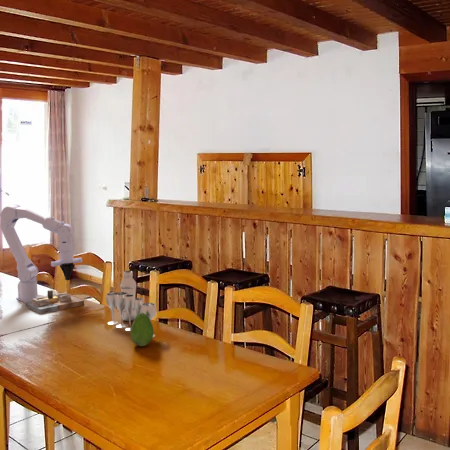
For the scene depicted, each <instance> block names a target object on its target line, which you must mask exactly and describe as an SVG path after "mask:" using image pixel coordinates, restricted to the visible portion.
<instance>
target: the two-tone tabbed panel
mask: <svg viewBox="0 0 450 450" xmlns="http://www.w3.org/2000/svg"><path fill="white" fill-rule="evenodd" d="M55 296H56V297H58V301H57V302H52V303H49V299H48V297H45V296H38V297H39V298H34V299H32V301H29V302H24V305H25V308H27V309H29V310H31V311H34V312H35V313H38V314H40V315H43V314H46V313H52V312H55V311H56V312H57V311H61V310H66V309H67V310H68V309H72V308H77V307H80V306H84V305H85V300H83V299H81V298H78V297H77V296H74V295H72V293H67V292H61V293H56V294H55ZM44 298H47V299H44ZM39 299H42V300H39Z"/></svg>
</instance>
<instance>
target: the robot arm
mask: <svg viewBox="0 0 450 450" xmlns="http://www.w3.org/2000/svg"><path fill="white" fill-rule="evenodd" d="M19 219H27V220H29V221H32V222H36V223H38V224H40V225H42V228H43V229H45V230H47V231H49V232H52V233H54V234H57V237H59V257H60V259H57V260H55V261H54V260H53V261H50V266H51V267H52V268H53V267H57V266H58V267H59V268H60V269H61V271H62V274H63V276H64V280H65V281H70V280H71V275H72V273H73V270H74V268H75V265H76V264H78V263H80V264H81V263H83V257H75V258H74V245H73V233H74V226H72V224H70V223H67V222H66V223H65V221H63V220H62V221H60V220H58V219H56V218H55V217H54V216H47V217H44V216H42V215H41V214H39V213H36V212H34V211H32V210H31V209H28V208H26V207H25V206H21V205H19V204H13V205H8V206H6V207H3V209H2V210H1V212H0V230H1V233H2V235H3V237H4V238H5V241H6V243H7V245H8V248H9V249H10V252H11V253H12V255H13V258H14V259H15V262H16V271H17V278H18V280H19V282H18V284H17V295H18V296H17V297H16V299H17V300H18V301H21V302H23V303H25V302H29V301H32V299H34V298H39V297H40V296H38V279H37V276H38V274H39V268H38V267H37V266H36V264H34V263H33V261H32V260H31V259H30V258H29V257H28V255H27V253H26V251H25V248H24V246H23V244H22V242H21V240H20V238H19V235H18V233H17V231H16V229H15V226H16V224H17V222H18V221H19Z"/></svg>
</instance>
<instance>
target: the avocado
mask: <svg viewBox="0 0 450 450" xmlns="http://www.w3.org/2000/svg"><path fill="white" fill-rule="evenodd" d="M153 334H154V326H153V324H152V320H151V321H150V319H149V317H148V316H147V315H146V314H145V313H139V314H137V316H136V317H135V319H134V320H133V321H132V325H131V331H130V339H131V341H132V342H133V344H134V345H136V346H139V347H145V346H147V345H148V344H150V342H152V340H153V338H154V337H153Z"/></svg>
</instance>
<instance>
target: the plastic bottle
mask: <svg viewBox="0 0 450 450" xmlns="http://www.w3.org/2000/svg"><path fill="white" fill-rule="evenodd" d="M122 276H123V278H122V280H121V282H120V285H119V286H120V292H126V293H127V295H134V301H135V299H136V292H137V282H136V280H135V279H134V278H133V276H134V275H133V271H132V270H126V271H125V270H124V271H123V275H122ZM136 316H137V313H136V311H135V308H133V310H132V313H131V321H132V322H133V321H134V319H135V317H136ZM122 321H126V322H130V319H129V314H128V311H127V309H126V307H125V308H124V309H123V311H122Z"/></svg>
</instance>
